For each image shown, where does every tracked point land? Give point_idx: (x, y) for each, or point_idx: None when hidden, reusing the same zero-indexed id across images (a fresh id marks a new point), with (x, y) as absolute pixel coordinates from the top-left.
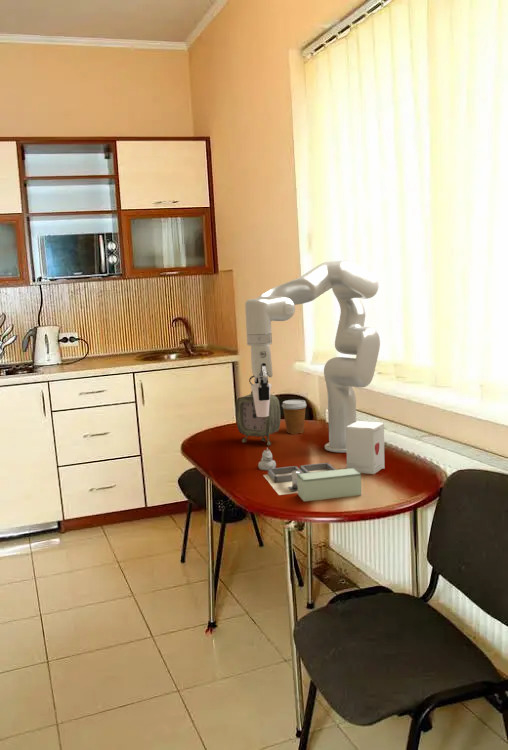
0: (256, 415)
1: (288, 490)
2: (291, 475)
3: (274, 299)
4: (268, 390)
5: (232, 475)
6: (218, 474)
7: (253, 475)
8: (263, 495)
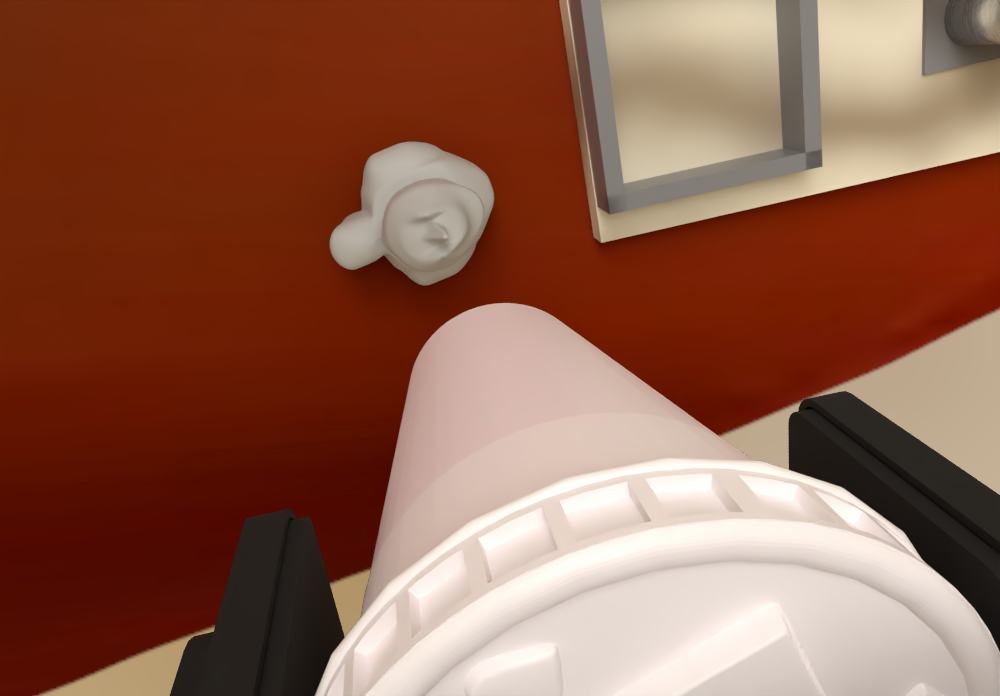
0: None
1: (976, 74)
2: (816, 33)
3: None
4: (998, 515)
5: None
6: None
7: (493, 303)
8: (915, 233)
